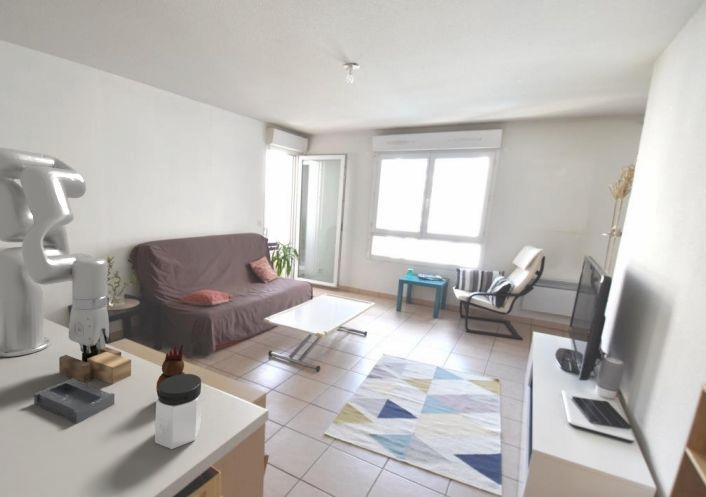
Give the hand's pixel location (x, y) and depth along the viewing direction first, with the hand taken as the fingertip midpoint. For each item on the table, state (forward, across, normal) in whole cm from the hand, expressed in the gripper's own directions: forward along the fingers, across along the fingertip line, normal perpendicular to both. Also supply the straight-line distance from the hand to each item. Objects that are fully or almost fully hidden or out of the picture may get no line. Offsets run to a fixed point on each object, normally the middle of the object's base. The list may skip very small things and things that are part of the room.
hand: (90, 364), depth 91 cm
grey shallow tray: (+2, +14, -12) cm, 18 cm away
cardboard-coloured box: (+2, +7, 0) cm, 8 cm away
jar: (+2, +42, -8) cm, 43 cm away
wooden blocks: (+1, 0, 0) cm, 1 cm away
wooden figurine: (+2, +32, 0) cm, 32 cm away
